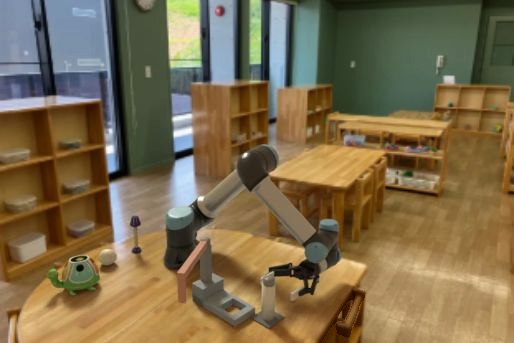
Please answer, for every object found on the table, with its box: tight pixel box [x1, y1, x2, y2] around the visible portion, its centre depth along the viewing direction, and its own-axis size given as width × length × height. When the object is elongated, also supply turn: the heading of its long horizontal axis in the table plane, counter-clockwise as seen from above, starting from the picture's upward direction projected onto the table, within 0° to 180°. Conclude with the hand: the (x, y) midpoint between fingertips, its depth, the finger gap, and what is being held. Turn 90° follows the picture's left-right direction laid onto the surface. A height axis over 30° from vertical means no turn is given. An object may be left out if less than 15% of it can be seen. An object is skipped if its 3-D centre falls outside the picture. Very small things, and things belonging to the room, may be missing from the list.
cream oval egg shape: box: [98, 248, 118, 267], centre depth 176 cm, size 7×7×7 cm
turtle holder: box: [46, 254, 101, 296], centre depth 158 cm, size 12×18×12 cm
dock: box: [191, 245, 256, 327], centre depth 146 cm, size 22×10×21 cm, turn 48°
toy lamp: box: [129, 215, 142, 254], centre depth 186 cm, size 5×5×17 cm
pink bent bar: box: [176, 236, 212, 304], centre depth 139 cm, size 26×4×10 cm, turn 169°
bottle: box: [260, 275, 277, 321], centre depth 141 cm, size 5×5×15 cm
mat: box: [250, 310, 285, 330], centre depth 143 cm, size 8×8×1 cm
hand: (275, 289), depth 143 cm, fingers open, 13 cm apart
